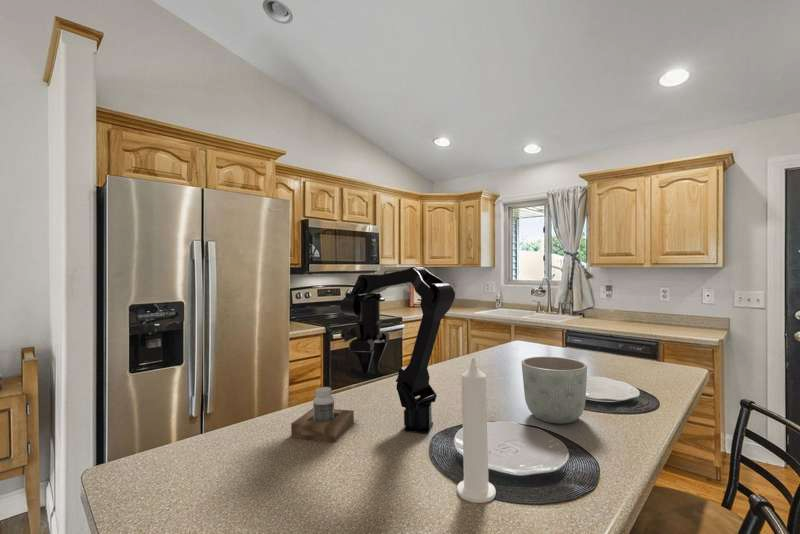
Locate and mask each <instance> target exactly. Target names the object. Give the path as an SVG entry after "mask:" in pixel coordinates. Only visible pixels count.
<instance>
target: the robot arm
mask: <svg viewBox="0 0 800 534" xmlns="http://www.w3.org/2000/svg"><path fill="white" fill-rule="evenodd" d="M408 284H412V286H413V289H414V291H415V293H416V294H417V295H418V296H419V297H420V304H419V306H420V308H421V313H422V316H421V319H420V323H419V328H418V330H417V334H416V338H415V341H414V345H413V350H412V351H411V357H410V360H409V363H408V365H405V366H402V367H400V368H399V370H398V374H397V377H396V380H395V383H396V391H397V394H398V398H399V402H400V405H401V407H402V408H404V410H403V426H404V432H413V433H421V434H423V433H424V434H429V433H430V432H431V429H432V428H433V425H434V422H433V420H432V419H433V418H432V403H435V402H436V399H437V393H436V392H435V390H434V389H433V388H432V386H431V384H430V373H429V370H428V368H429V367H428V366H429V363H430V360H431V357H432V353H433V350H434V347H435V343H436V339H437V336H438V333H439V328H440V325H441V321H442V319H443V318H444V316H446V314H447V313H448V312H449V310H450V309H451V307H452V305H453V303H454V301H455V298H456V291H455V290H454V287H453V286H452V285H451V284H449V283H447V282H445V281H444V280H443V279H441V278H440V277H438V276H436V275H434V274H433V273H431V272H430V271H429V270H427V269H426V268H425V267H423V266H412V267H409V268H408V269H407V268H406V269H401V270H397V271H393V272H388V273H382V274H381V273H375V274H374V273H373V274H371V273H366V274H363V273H362V274H359V275H358V276H357V280H356V282H355V284H354V286H353V287H352V290H351V291H350V292H346V293H344V294H345V295H344V297H343V299H341V301H340V302H341V303H340V305H339V306H340V310H341V312H342V314H344V315H347V316H356V317H357V316H359V317H360V318H359V319H360V320H357V323H356V326H354V327H350V326H349V325H347V326H345V327H342V328H341V331H340V338H342V339H343V340H344V343H346V342H349V341H350V340H351V341H350V342H349V344H348V351H350V352H351V353H353V354H354V355H356V357H357V358H358V360H359V364H360V367H361V370H362V373H363V374H364V375H367V374H368V373H369V370H370V367H371V363H372V362H373V366H374V367H378V366H379V364H380V363H381V359H382V357H383V354H384V352H385V349H386V348H387V345H388V343H389V341H390V333H389V332H388V331H385V330H381V324H382V323H383V319H381V316H380V315H381V314H380V313H381V311H380V310H381V309H380V307H381V306H380V303H381V302H385V301H386V299H385V298H384V297H383V296H382V295H381V292H384V291H386V290H387V289H388V288H390V287H391V288H392V287H396V286H403V285H408ZM372 360H373V361H372Z"/></svg>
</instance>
